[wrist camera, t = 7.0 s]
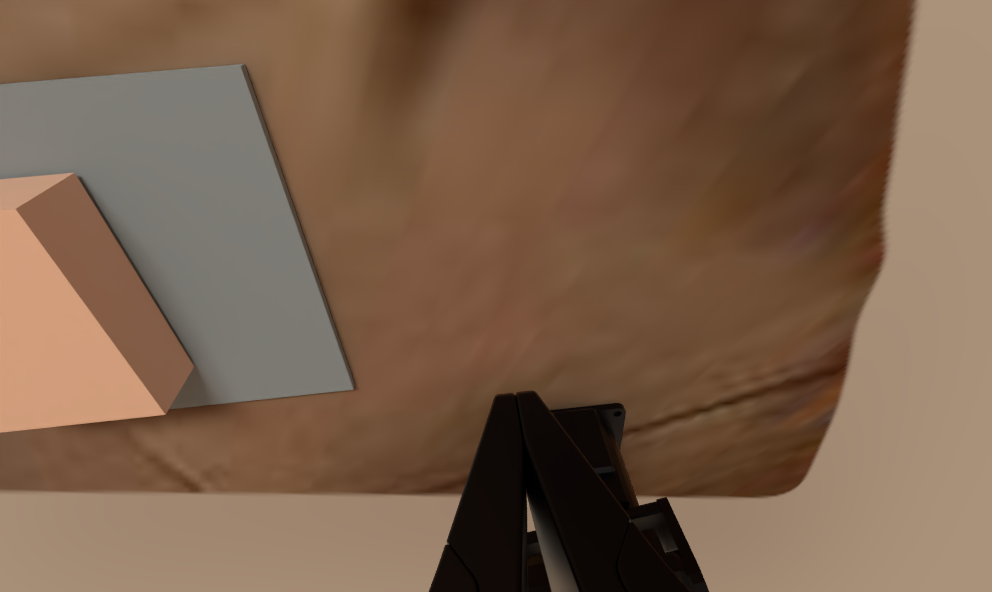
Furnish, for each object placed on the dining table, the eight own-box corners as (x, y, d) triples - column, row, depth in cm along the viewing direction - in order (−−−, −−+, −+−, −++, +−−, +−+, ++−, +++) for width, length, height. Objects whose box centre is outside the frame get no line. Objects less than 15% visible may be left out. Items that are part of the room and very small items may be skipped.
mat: (354, 383, 26) (353, 389, 26) (-24, 424, 25) (-30, 430, 25) (244, 63, 16) (240, 66, 16) (-369, 114, 16) (-386, 118, 15)
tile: (165, 414, 21) (-45, 437, 21) (195, 363, 24) (9, 383, 23) (15, 208, 15) (-284, 236, 15) (77, 170, 18) (-176, 193, 17)
